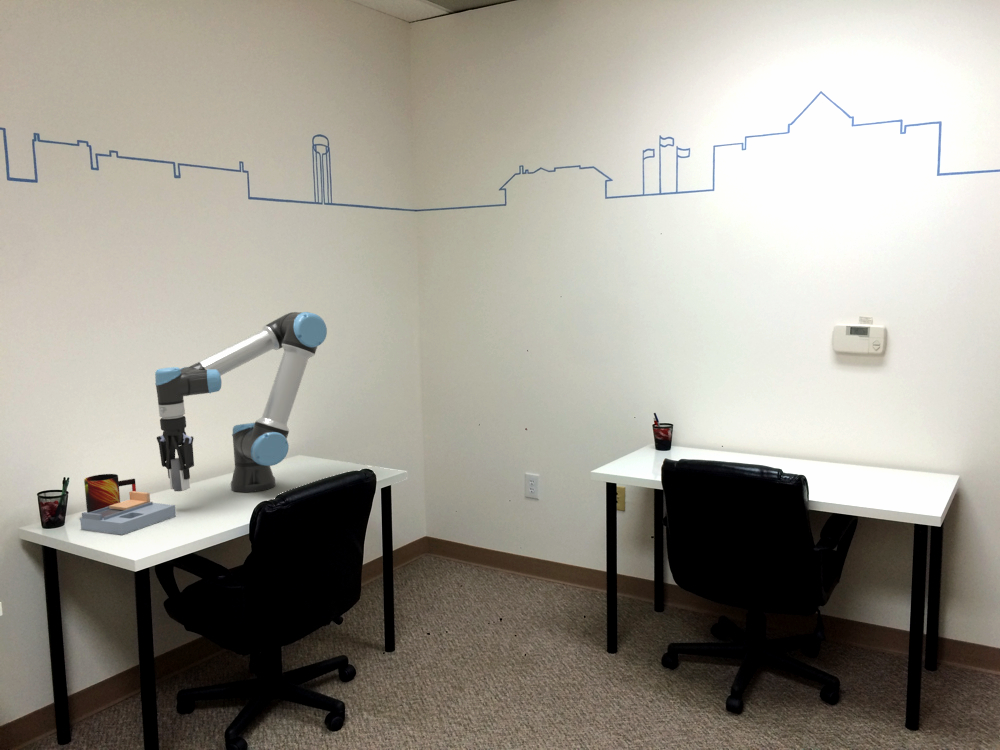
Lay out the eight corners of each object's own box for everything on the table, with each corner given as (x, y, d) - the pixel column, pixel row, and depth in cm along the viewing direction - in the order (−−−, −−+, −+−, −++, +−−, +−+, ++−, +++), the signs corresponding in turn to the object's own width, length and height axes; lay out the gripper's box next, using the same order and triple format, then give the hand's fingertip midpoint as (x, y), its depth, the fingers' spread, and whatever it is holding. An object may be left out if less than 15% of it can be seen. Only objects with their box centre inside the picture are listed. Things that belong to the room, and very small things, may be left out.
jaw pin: (180, 487, 257) (177, 457, 255) (190, 488, 255) (186, 457, 254) (171, 490, 253) (167, 460, 252) (180, 491, 251) (177, 460, 250)
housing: (136, 511, 255) (134, 495, 255) (175, 516, 248) (174, 500, 248) (81, 529, 237) (79, 512, 237) (122, 535, 230) (120, 517, 230)
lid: (133, 500, 253) (132, 491, 253) (150, 502, 250) (149, 492, 250) (109, 508, 245) (108, 498, 245) (126, 510, 242) (125, 500, 242)
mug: (139, 508, 259) (136, 472, 258) (101, 520, 247) (97, 482, 245) (118, 505, 263) (115, 470, 262) (80, 516, 251) (77, 479, 250)
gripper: (143, 418, 251) (151, 490, 254) (183, 419, 244) (191, 493, 247) (162, 413, 258) (169, 484, 261) (201, 415, 251) (209, 487, 254)
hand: (180, 488), depth 254 cm, fingers closed on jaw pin, 4 cm apart
